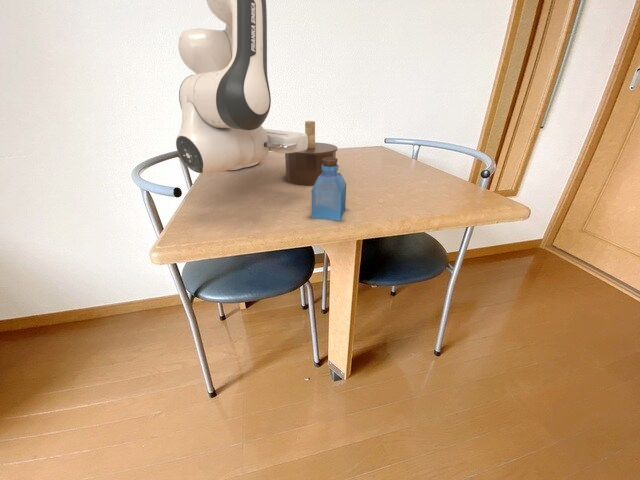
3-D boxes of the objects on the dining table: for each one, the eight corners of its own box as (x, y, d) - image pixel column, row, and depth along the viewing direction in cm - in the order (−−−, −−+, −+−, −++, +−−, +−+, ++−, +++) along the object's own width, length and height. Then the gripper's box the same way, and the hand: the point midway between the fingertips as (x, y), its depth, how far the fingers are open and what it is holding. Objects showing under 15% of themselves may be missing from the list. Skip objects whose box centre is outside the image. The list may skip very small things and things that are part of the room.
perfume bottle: (345, 210, 68) (347, 156, 62) (340, 220, 62) (342, 163, 57) (318, 207, 69) (319, 155, 63) (311, 217, 64) (311, 161, 58)
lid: (281, 157, 79) (280, 125, 75) (284, 146, 93) (282, 118, 89) (340, 157, 80) (341, 124, 76) (334, 146, 94) (335, 118, 90)
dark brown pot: (285, 185, 83) (284, 155, 79) (287, 171, 96) (286, 144, 92) (337, 185, 84) (338, 154, 80) (332, 171, 97) (332, 144, 93)
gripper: (285, 132, 60) (322, 125, 70) (217, 124, 70) (259, 119, 80) (286, 163, 63) (322, 152, 73) (221, 151, 73) (261, 143, 83)
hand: (288, 134), depth 77 cm, fingers open, 8 cm apart
